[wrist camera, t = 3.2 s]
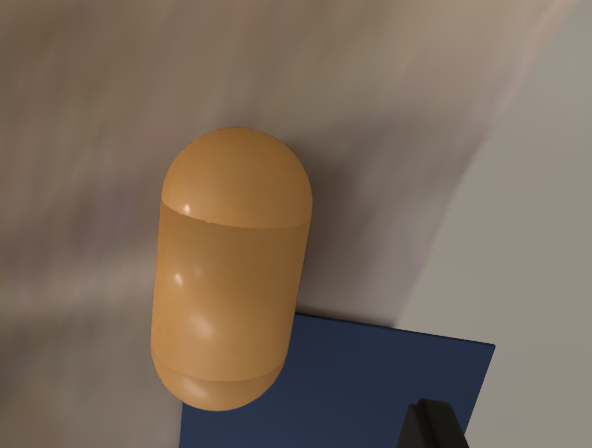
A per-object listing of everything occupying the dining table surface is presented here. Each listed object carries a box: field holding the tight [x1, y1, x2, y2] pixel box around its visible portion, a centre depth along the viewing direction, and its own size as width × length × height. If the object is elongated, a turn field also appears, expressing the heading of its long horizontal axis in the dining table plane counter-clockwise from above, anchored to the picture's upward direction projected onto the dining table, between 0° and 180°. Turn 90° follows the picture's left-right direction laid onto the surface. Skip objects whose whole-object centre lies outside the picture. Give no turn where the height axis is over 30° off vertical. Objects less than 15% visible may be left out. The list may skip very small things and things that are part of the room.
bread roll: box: [151, 127, 313, 411], centre depth 15 cm, size 9×5×5 cm, turn 171°
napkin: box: [179, 313, 496, 448], centre depth 20 cm, size 12×12×1 cm
